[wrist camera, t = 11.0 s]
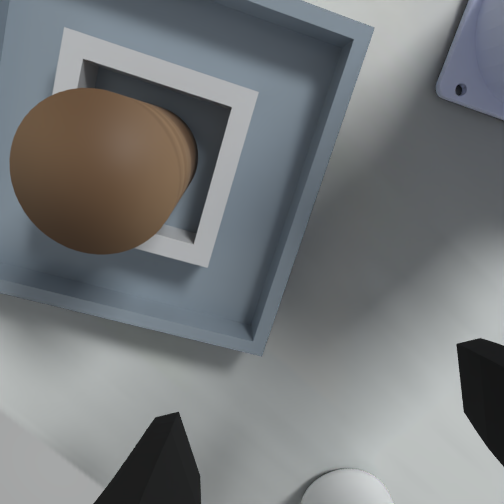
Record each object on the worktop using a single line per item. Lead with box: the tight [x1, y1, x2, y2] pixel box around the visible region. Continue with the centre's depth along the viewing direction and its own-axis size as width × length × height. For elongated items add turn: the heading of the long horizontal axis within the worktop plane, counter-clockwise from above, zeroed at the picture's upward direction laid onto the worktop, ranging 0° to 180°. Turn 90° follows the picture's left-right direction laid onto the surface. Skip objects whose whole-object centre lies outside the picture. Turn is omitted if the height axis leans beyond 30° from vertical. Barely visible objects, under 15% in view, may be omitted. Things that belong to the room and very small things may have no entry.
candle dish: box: [0, 0, 374, 356], centre depth 17 cm, size 14×14×3 cm
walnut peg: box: [9, 88, 198, 255], centre depth 14 cm, size 4×4×8 cm
